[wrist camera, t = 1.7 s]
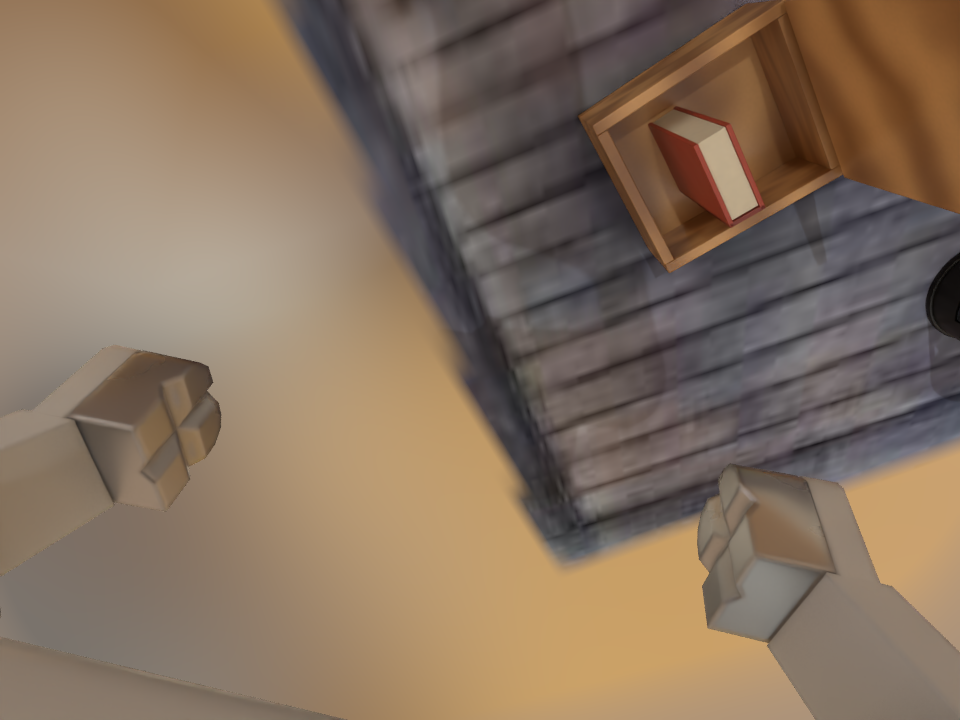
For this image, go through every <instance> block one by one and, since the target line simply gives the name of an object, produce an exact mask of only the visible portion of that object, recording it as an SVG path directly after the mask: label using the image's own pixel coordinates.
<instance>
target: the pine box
mask: <svg viewBox="0 0 960 720" xmlns="http://www.w3.org/2000/svg"><path fill="white" fill-rule="evenodd" d="M784 1H786V0H773V1H765V2H757V3H747V4H745V5H743V6H742V7H740V8H739V9H737V10H736V11H734V12H733V13H731V14H730V15H728V16H727V17H725V18H724V19H722V20H721V21H719V22H718V23H716V24H715V25H713V26H712V27H710V28H709V29H707V30H706V31H704V32H703V33H701V34H700V35H698V36H697V37H695V38H694V39H692V40H691V41H689V42H688V43H686V44H685V45H683V46H682V47H680V48H679V49H677V50H676V51H674V52H673V53H671V54H670V55H668V56H667V57H665V58H664V59H662V60H661V61H659V62H658V63H656V64H655V65H653V66H652V67H650V68H649V69H647V70H646V71H644V72H643V73H641V74H640V75H638V76H637V77H635V78H634V79H632V80H631V81H629V82H628V83H626V84H625V85H623V86H622V87H620V88H619V89H617V90H616V91H614V92H613V93H611V94H610V95H608V96H607V97H605V98H604V99H602V100H601V101H599V102H598V103H596V104H595V105H593V106H592V107H590V108H589V109H587V110H586V111H584V112H583V113H581V114H580V115H578V118H579V120H580V121H581V123H582V125H583V127H584V129H585V131H586V133H587V135H588V136H589V138H590V140H591V142H592V144H593V146H594V148H595V150H596V151H597V153H598V155H599V157H600V159H601V161H602V163H603V165H604V167H605V168H606V170H607V172H608V174H609V176H610V178H611V180H612V182H613V183H614V185H615V187H616V189H617V191H618V193H619V195H620V197H621V198H622V200H623V202H624V204H625V206H626V208H627V210H628V212H629V214H630V215H631V217H632V219H633V221H634V223H635V225H636V227H637V229H638V230H639V232H640V234H641V236H642V238H643V240H644V242H645V244H646V246H647V247H648V249H649V250H650V252H651V253H652V254H653V255H654V256H655V257H656V258H657V260H658V261H659V262H660V263H661V264H662V265H663V267H664V268H665V269H666V270H667V271H668V273H671V272H672V271H674V270H676V269H678V268H679V267H681V266H683V265H685V264H686V263H688V262H690V261H692V260H694V259H695V258H697V257H699V256H701V255H702V254H704V253H706V252H708V251H709V250H711V249H713V248H715V247H716V246H718V245H720V244H722V243H723V242H725V241H727V240H729V239H730V238H732V237H734V236H736V235H737V234H739V233H741V232H743V231H744V230H746V229H748V228H750V227H751V226H753V225H755V224H757V223H759V222H760V221H762V220H764V219H766V218H767V217H769V216H771V215H773V214H774V213H776V212H778V211H780V210H781V209H783V208H785V207H787V206H788V205H790V204H792V203H794V202H795V201H797V200H799V199H801V198H802V197H804V196H806V195H808V194H809V193H811V192H813V191H815V190H816V189H818V188H820V187H822V186H823V185H825V184H827V183H829V182H831V181H832V180H834V179H836V178H838V177H839V176H841V175H843V172H842V169H841V166H840V163H839V161H838V158H837V155H836V152H835V149H834V146H833V143H832V140H831V137H830V135H829V132H828V129H827V126H826V123H825V120H824V117H823V114H822V112H821V109H820V106H819V103H818V100H817V97H816V94H815V91H814V89H813V86H812V83H811V80H810V77H809V74H808V71H807V68H806V65H805V63H804V60H803V57H802V54H801V51H800V48H799V45H798V42H797V40H796V37H795V34H794V31H793V28H792V25H791V22H790V19H789V17H788V14H787V11H786V8H785V5H784ZM676 106H678V107H681V108H684V109H687V110H690V111H694V112H697V113H700V114H703V115H706V116H709V117H712V118H715V119H718V120H721V121H724V122H727V123H730V124H731V126H732V128H733V130H734V133H735V135H736V138H737V140H738V142H739V145H740V147H741V150H742V152H743V154H744V157H745V159H746V161H747V164H748V166H749V169H750V171H751V173H752V176H753V178H754V181H755V183H756V185H757V188H758V190H759V192H760V195H761V197H762V200H763V202H764V204H765V207H766V208H765V209H763V210H761V211H760V212H758V213H756V214H754V215H753V216H751V217H749V218H747V219H746V220H744V221H742V222H741V223H739V224H737V225H735V226H734V227H732V228H730V227H728V226H727V225H726V224H724V223H723V222H721V221H720V220H719V219H717V218H716V217H715V216H713V215H712V214H710V213H709V212H708V211H706V210H705V209H703V208H702V207H701V206H699V205H698V204H697V203H695V202H694V201H692V200H691V199H690V198H688V197H687V196H686V195H684V194H683V193H681V192H680V191H679V188H678V186H677V184H676V182H675V180H674V178H673V176H672V174H671V172H670V170H669V168H668V166H667V164H666V162H665V159H664V157H663V155H662V153H661V151H660V149H659V147H658V145H657V143H656V141H655V139H654V137H653V135H652V132H651V130H650V128H649V126H648V124H649V123H653V122H655V121H656V120H658V119H659V118H661V117H662V116H664V115H665V114H667V113H669V112H670V111H672V110H673V108H674V107H676Z"/></svg>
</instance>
